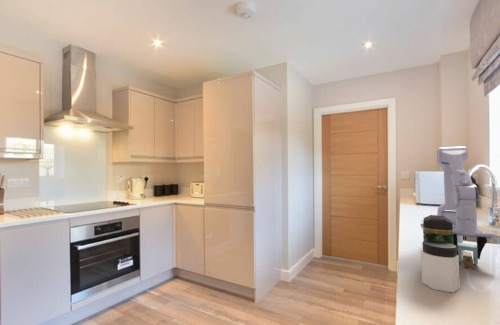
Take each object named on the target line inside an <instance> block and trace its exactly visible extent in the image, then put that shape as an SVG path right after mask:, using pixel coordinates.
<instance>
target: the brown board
mask: <svg viewBox="0 0 500 325" xmlns="http://www.w3.org/2000/svg"><path fill="white" fill-rule="evenodd" d="M462 262H463V268H464V269H468V270H475V269H474V268H475V267H474V260H473V254H472V252H468V251H462Z"/></svg>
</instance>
